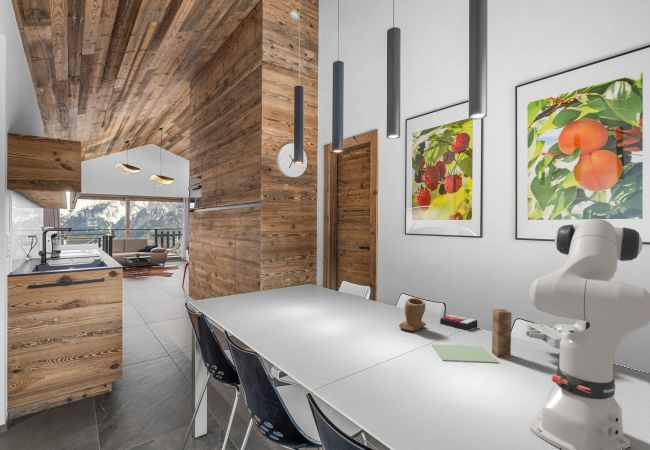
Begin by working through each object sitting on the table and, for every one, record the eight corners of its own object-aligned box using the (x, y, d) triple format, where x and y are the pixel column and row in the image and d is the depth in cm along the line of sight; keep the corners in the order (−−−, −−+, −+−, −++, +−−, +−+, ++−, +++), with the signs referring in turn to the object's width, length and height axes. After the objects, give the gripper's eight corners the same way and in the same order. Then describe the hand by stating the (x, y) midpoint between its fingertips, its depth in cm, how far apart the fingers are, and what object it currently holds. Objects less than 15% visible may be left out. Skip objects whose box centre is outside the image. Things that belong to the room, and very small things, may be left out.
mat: (481, 347, 142) (481, 346, 142) (498, 363, 126) (498, 362, 126) (431, 345, 143) (431, 344, 143) (442, 360, 127) (442, 359, 127)
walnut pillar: (504, 352, 136) (505, 309, 136) (510, 357, 131) (511, 312, 131) (491, 352, 136) (492, 308, 136) (497, 357, 131) (498, 312, 131)
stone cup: (417, 335, 156) (417, 303, 155) (395, 329, 164) (396, 299, 164) (432, 328, 166) (433, 298, 166) (411, 322, 175) (412, 294, 175)
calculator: (450, 313, 181) (477, 318, 170) (450, 321, 181) (477, 327, 170) (439, 317, 174) (467, 322, 163) (439, 325, 174) (467, 331, 162)
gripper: (547, 319, 142) (514, 318, 143) (582, 336, 122) (543, 334, 122) (547, 334, 142) (514, 333, 143) (581, 353, 122) (542, 351, 122)
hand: (527, 334), depth 132 cm, fingers closed
